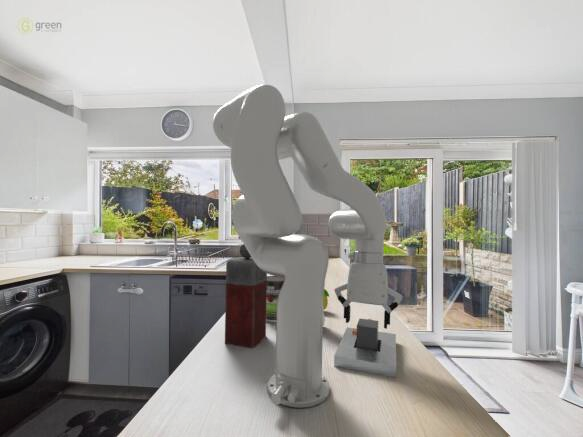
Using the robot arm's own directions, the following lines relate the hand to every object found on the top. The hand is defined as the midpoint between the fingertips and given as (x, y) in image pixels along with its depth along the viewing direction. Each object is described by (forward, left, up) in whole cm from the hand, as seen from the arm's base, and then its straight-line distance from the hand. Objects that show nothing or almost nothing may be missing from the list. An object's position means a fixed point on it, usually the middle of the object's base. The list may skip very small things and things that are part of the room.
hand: (366, 324), depth 74 cm
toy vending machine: (-2, +34, -8) cm, 35 cm away
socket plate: (+1, 0, -8) cm, 8 cm away
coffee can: (+18, +34, -8) cm, 39 cm away
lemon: (+31, +20, -8) cm, 37 cm away
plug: (+2, 0, -8) cm, 8 cm away
